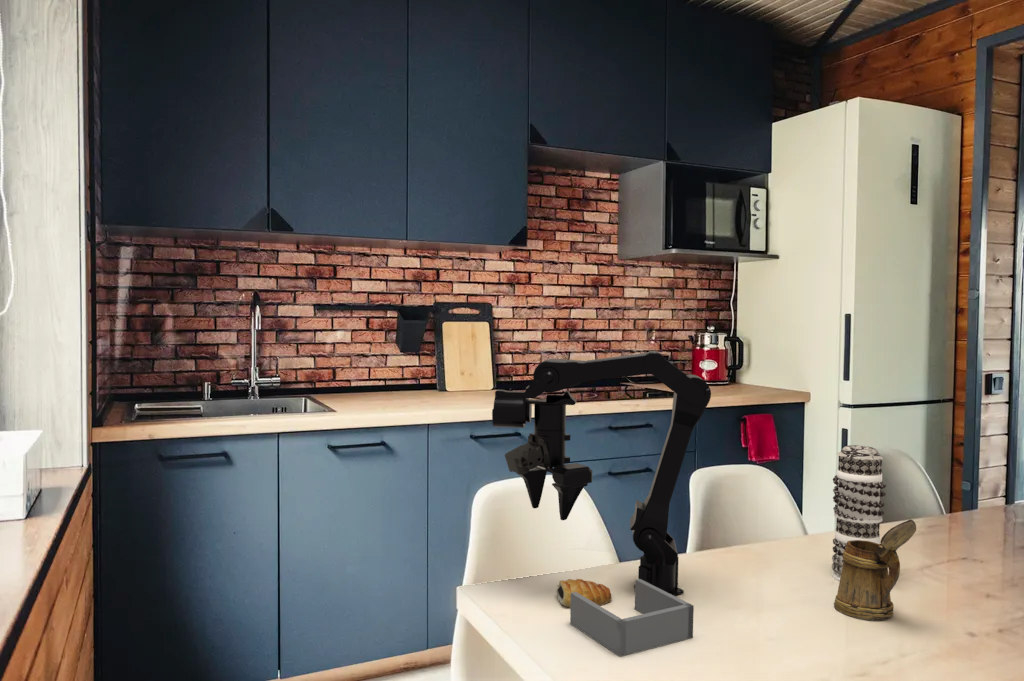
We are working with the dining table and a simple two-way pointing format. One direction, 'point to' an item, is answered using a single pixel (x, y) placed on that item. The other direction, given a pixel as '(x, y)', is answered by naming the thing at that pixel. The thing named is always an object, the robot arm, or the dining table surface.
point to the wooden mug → (871, 574)
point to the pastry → (583, 591)
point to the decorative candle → (856, 499)
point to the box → (635, 621)
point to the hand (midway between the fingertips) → (549, 513)
